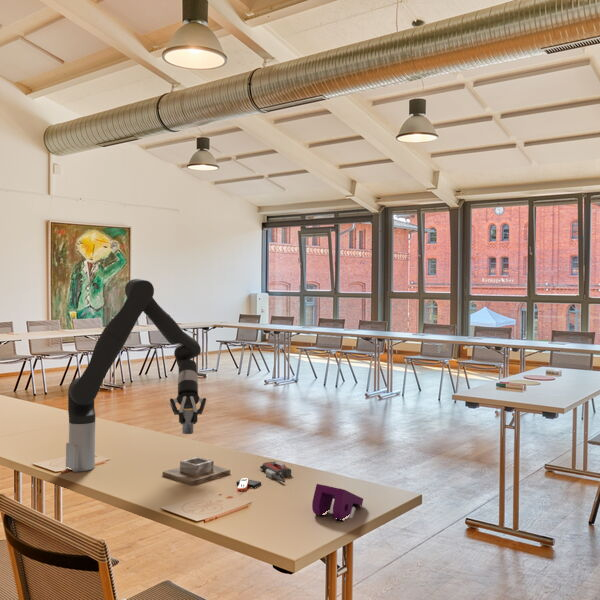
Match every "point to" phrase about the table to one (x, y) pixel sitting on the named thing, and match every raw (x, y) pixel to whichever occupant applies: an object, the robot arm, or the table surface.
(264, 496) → the table surface
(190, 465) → the dock board
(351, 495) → the mounting bracket
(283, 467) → the walkie-talkie
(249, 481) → the multimeter
